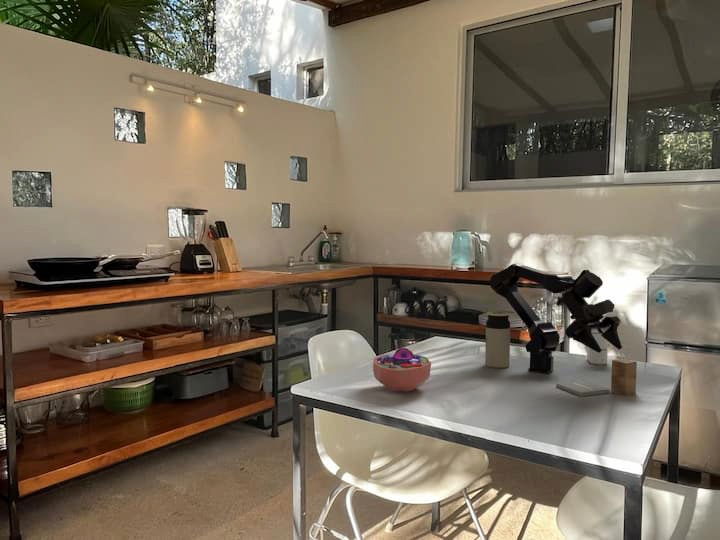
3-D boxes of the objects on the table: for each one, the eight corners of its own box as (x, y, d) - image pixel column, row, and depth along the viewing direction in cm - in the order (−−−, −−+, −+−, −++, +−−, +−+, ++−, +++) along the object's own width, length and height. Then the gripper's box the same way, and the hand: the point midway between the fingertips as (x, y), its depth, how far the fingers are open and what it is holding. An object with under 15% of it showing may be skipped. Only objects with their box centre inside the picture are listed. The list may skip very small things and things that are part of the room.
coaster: (556, 386, 160) (556, 383, 160) (584, 383, 163) (584, 380, 163) (580, 396, 150) (580, 392, 150) (609, 392, 154) (609, 389, 154)
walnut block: (611, 391, 155) (611, 360, 155) (621, 389, 157) (621, 358, 157) (625, 395, 151) (626, 363, 151) (635, 393, 153) (636, 361, 153)
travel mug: (512, 364, 188) (513, 312, 186) (505, 369, 181) (506, 315, 180) (489, 362, 192) (490, 310, 191) (481, 366, 185) (482, 313, 184)
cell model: (362, 395, 151) (362, 354, 150) (384, 378, 169) (384, 342, 169) (422, 402, 145) (422, 359, 144) (438, 383, 164) (438, 345, 163)
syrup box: (607, 364, 189) (609, 322, 188) (589, 363, 190) (590, 321, 189) (603, 360, 194) (605, 320, 194) (586, 360, 196) (587, 319, 195)
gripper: (574, 292, 156) (608, 336, 147) (615, 289, 166) (649, 330, 157) (551, 316, 164) (582, 359, 155) (592, 312, 173) (623, 353, 164)
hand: (610, 350), depth 157 cm, fingers open, 9 cm apart
